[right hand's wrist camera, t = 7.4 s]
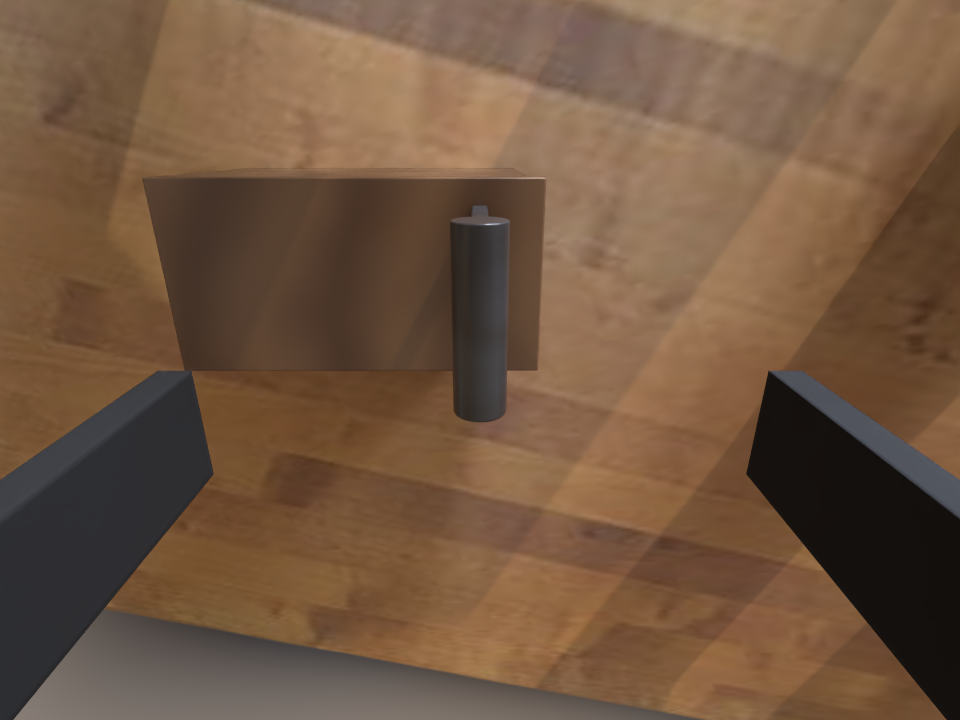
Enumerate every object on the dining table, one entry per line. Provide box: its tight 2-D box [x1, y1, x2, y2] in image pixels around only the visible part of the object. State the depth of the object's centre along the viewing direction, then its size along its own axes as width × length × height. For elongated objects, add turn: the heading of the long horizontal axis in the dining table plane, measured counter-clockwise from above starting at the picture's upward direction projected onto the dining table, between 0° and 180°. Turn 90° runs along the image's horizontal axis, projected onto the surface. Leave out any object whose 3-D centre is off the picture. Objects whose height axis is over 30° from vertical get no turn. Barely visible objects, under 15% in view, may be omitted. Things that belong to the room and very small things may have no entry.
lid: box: [143, 177, 546, 422], centre depth 23 cm, size 18×9×8 cm, turn 90°
